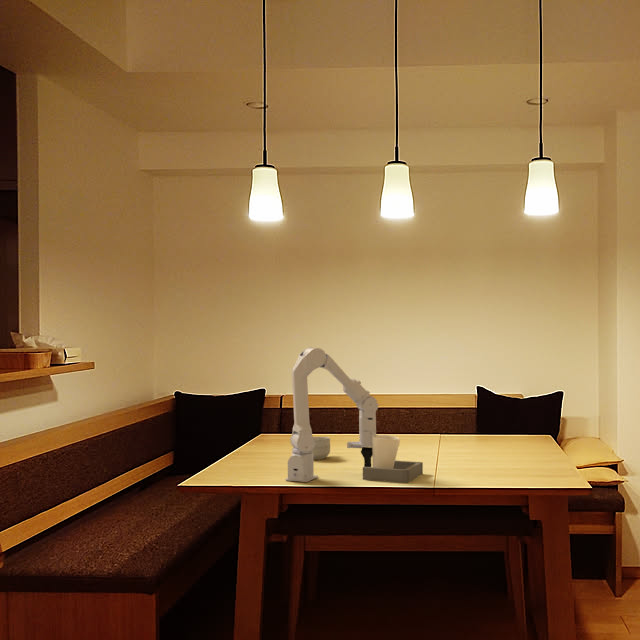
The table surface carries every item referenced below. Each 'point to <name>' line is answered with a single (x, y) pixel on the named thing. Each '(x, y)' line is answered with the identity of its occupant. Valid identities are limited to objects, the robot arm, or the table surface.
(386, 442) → the foam cup
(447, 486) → the table surface
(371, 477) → the bay
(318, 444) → the teacup
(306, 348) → the robot arm
